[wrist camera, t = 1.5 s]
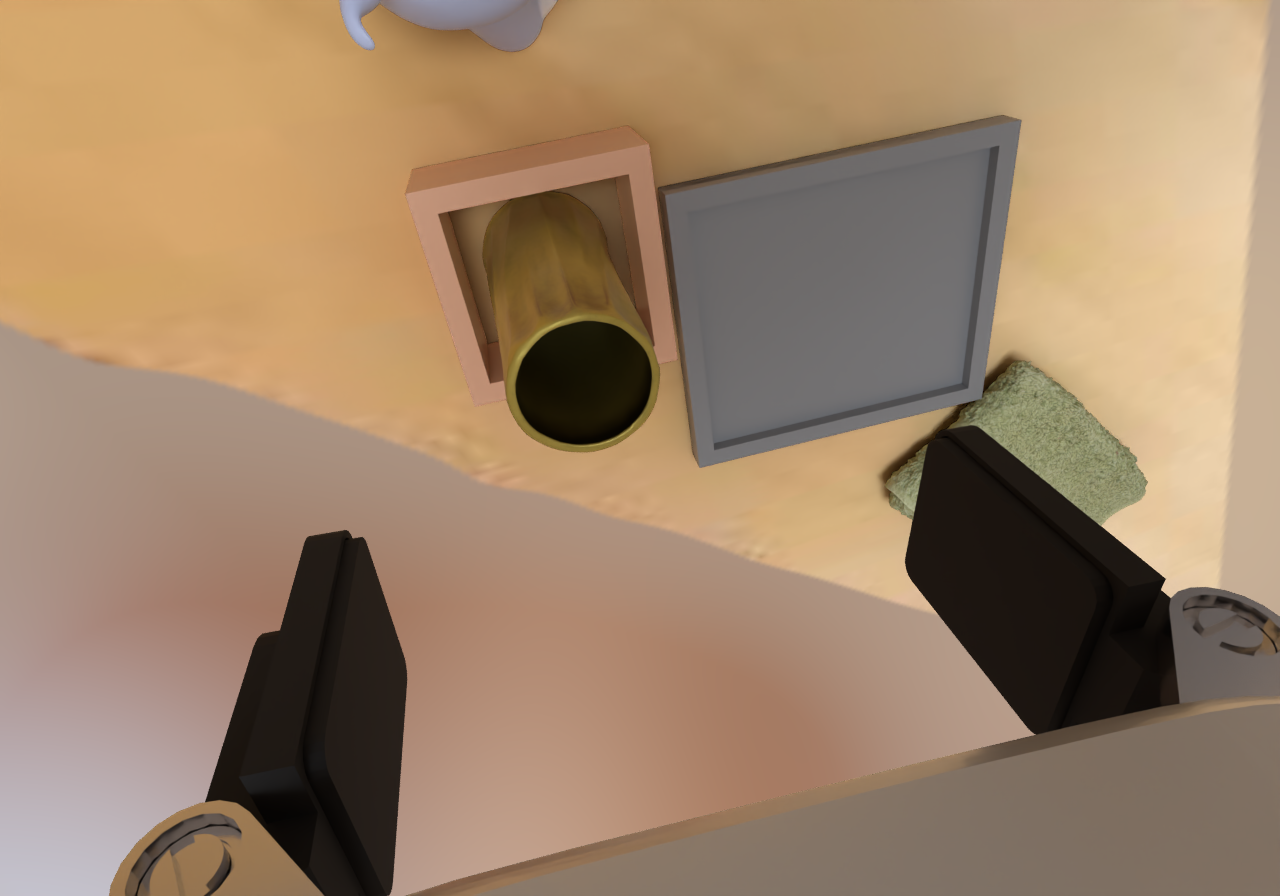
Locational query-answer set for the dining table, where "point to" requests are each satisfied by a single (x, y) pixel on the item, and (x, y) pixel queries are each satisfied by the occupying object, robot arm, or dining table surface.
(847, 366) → the tray
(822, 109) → the dining table surface
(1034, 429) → the washcloth
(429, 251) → the pink square frame
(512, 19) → the hippopotamus toy
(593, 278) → the vase
